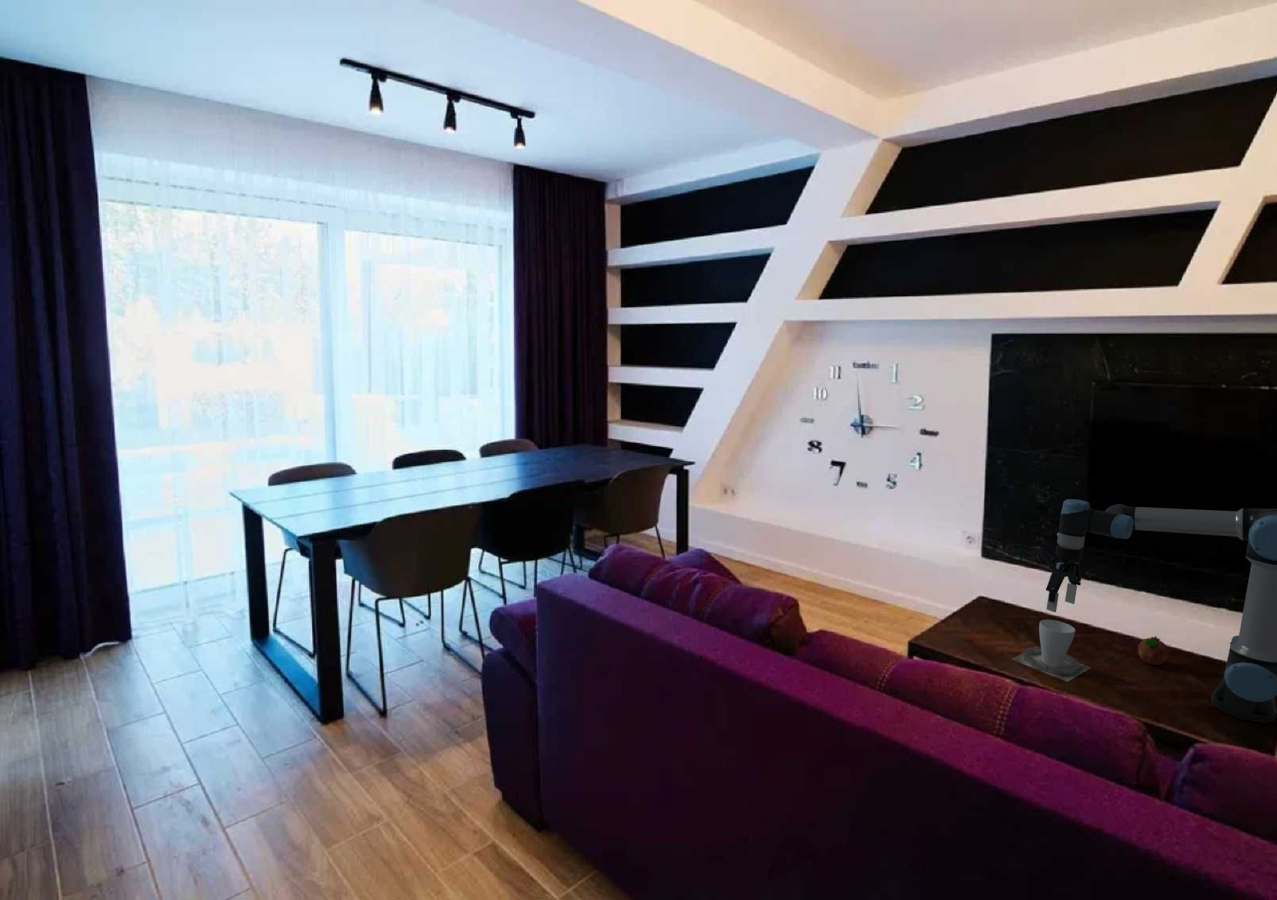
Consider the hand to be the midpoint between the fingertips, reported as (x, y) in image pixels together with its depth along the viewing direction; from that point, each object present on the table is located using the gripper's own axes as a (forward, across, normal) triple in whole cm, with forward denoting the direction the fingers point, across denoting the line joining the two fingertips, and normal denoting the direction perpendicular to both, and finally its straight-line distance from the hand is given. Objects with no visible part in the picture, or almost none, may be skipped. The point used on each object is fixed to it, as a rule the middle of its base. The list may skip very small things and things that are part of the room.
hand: (1060, 606), depth 232 cm
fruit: (+22, -35, +18) cm, 45 cm away
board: (+22, 0, 0) cm, 22 cm away
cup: (+21, 0, 0) cm, 21 cm away
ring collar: (+21, 0, 0) cm, 21 cm away
